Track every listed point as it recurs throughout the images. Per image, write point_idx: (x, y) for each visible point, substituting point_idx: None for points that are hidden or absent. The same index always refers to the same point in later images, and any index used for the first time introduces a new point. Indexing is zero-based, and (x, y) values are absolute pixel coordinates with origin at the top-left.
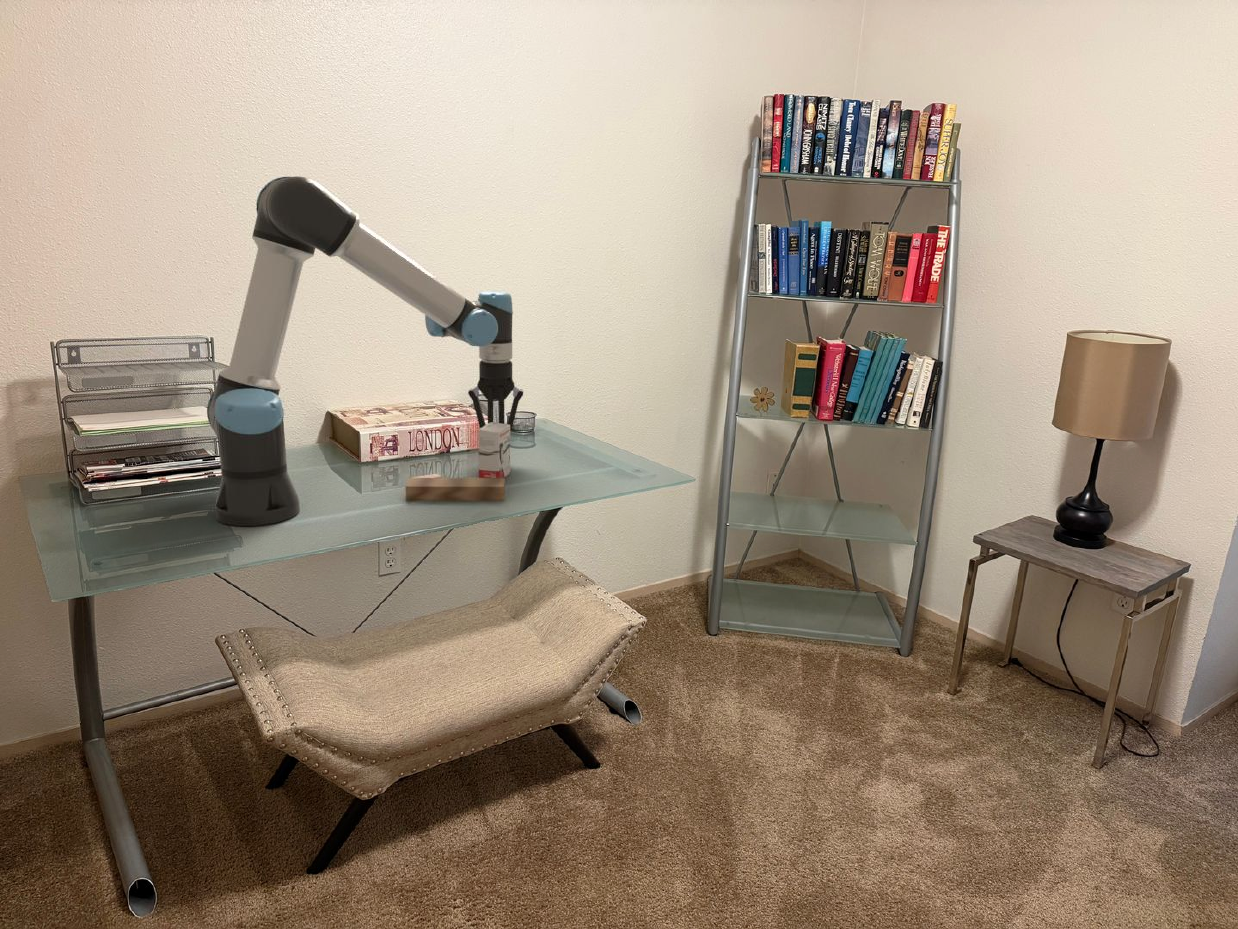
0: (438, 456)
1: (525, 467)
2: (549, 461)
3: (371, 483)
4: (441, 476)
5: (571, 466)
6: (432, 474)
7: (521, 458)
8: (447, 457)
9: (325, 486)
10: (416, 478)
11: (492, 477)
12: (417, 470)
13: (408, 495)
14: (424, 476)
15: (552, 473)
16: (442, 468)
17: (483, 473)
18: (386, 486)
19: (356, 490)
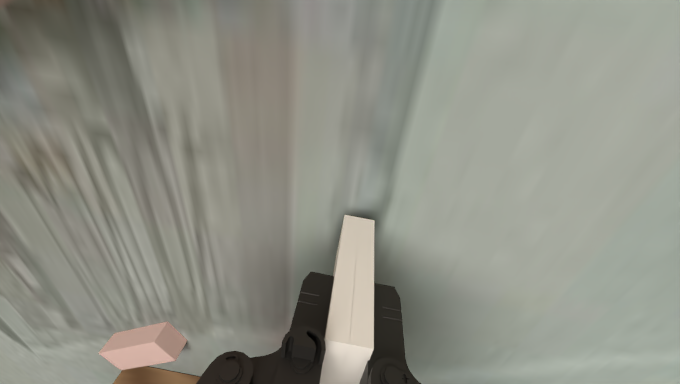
0: (64, 38)
1: (463, 274)
2: (616, 223)
3: (7, 305)
4: (174, 360)
5: (658, 298)
6: (144, 345)
7: (504, 152)
8: (118, 68)
9: None
10: None
11: None
12: (71, 232)
13: None
14: (128, 352)
15: (528, 341)
16: (149, 227)
17: None
18: (58, 328)
19: (6, 334)
